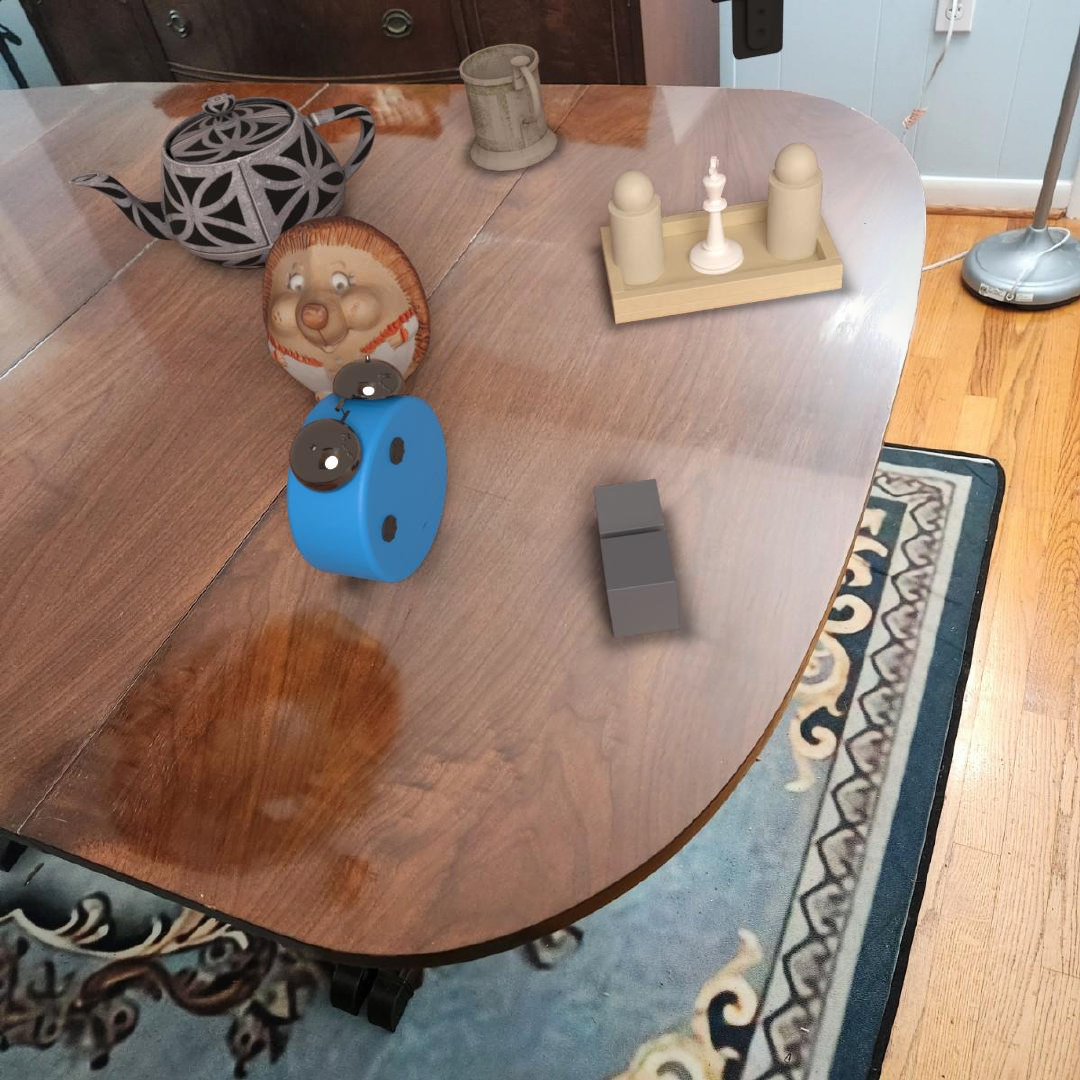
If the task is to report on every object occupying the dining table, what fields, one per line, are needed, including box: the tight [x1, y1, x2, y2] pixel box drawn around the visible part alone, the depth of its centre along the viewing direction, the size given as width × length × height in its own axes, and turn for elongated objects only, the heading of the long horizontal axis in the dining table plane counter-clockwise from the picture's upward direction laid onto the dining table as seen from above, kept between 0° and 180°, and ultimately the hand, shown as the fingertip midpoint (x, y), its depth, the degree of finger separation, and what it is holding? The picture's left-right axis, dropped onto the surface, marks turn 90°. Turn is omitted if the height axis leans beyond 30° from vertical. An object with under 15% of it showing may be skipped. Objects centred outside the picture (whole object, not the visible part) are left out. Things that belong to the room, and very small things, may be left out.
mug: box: [458, 43, 558, 172], centre depth 108 cm, size 14×10×12 cm
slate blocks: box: [593, 478, 680, 639], centre depth 69 cm, size 4×10×5 cm, turn 3°
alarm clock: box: [286, 355, 448, 584], centre depth 70 cm, size 13×6×15 cm, turn 162°
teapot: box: [68, 92, 376, 270], centre depth 103 cm, size 19×31×15 cm, turn 112°
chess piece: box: [689, 155, 743, 275], centre depth 88 cm, size 5×5×10 cm
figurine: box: [261, 215, 431, 403], centre depth 85 cm, size 14×16×15 cm
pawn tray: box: [599, 142, 845, 325], centre depth 89 cm, size 20×12×11 cm, turn 93°
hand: (744, 25), depth 70 cm, fingers open, 9 cm apart
